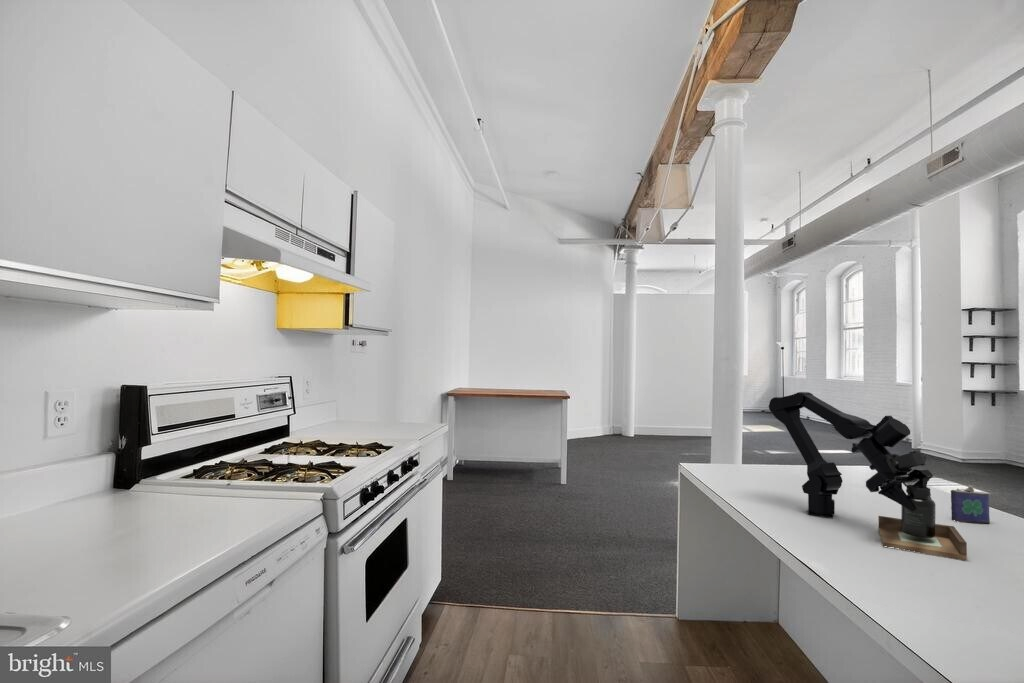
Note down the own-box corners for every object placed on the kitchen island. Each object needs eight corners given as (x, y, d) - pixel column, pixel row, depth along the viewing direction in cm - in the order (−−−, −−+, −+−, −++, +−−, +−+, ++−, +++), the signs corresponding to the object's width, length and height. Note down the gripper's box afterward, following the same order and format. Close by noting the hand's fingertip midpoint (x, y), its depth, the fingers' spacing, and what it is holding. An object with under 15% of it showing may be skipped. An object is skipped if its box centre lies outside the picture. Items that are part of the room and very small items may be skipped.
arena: (883, 546, 129) (882, 529, 129) (878, 531, 142) (878, 515, 142) (966, 560, 121) (966, 542, 121) (954, 542, 134) (953, 526, 134)
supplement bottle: (911, 528, 136) (912, 483, 137) (941, 537, 130) (941, 489, 130) (895, 531, 134) (895, 484, 134) (924, 539, 127) (925, 490, 128)
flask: (986, 522, 153) (985, 485, 153) (992, 525, 150) (992, 488, 150) (949, 519, 155) (948, 483, 156) (954, 522, 152) (954, 485, 153)
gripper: (877, 441, 133) (924, 495, 122) (925, 438, 139) (973, 490, 129) (848, 465, 140) (889, 518, 129) (894, 462, 147) (938, 512, 136)
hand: (923, 509), depth 131 cm, fingers closed on supplement bottle, 7 cm apart
